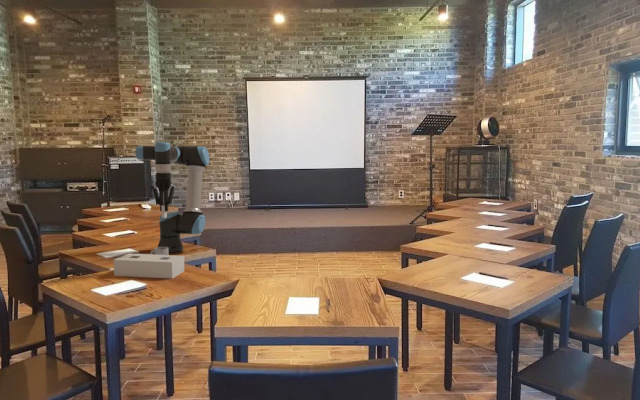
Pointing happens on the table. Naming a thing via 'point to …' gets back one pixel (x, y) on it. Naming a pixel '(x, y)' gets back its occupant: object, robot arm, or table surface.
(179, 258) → the grey rectangular block
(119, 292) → the table surface
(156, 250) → the cup
